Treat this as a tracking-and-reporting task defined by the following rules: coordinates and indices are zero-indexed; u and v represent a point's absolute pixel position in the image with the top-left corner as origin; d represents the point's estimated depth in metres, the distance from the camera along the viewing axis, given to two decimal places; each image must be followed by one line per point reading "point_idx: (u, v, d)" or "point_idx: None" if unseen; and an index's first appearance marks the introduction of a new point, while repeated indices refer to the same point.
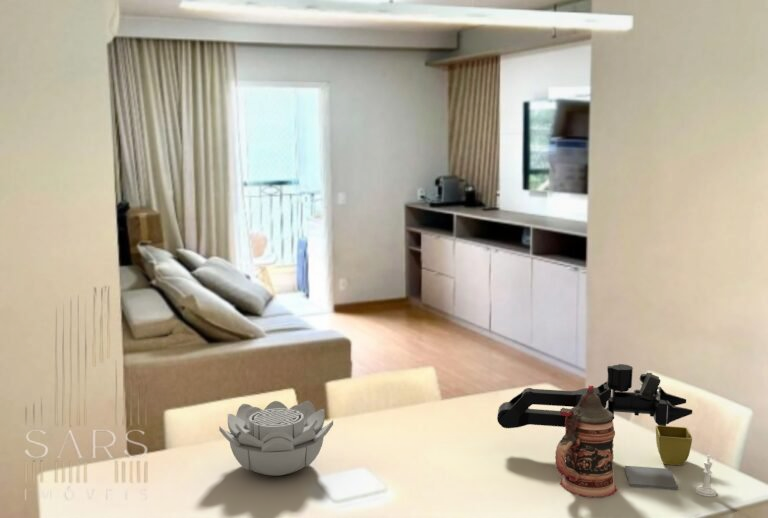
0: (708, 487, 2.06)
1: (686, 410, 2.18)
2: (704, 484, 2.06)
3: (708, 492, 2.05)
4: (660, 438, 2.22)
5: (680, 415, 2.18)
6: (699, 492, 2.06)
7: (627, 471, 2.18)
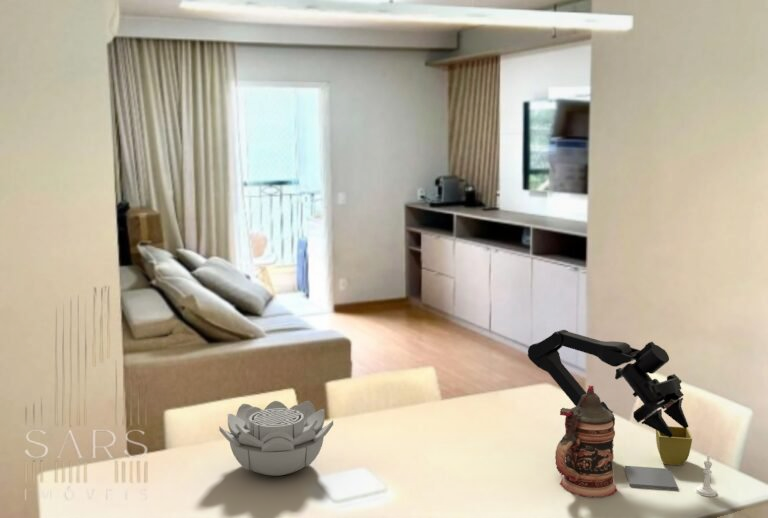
0: (708, 487, 2.06)
1: (667, 430, 2.07)
2: (704, 484, 2.06)
3: (708, 492, 2.05)
4: (660, 438, 2.22)
5: (659, 428, 2.08)
6: (699, 492, 2.06)
7: (627, 471, 2.18)
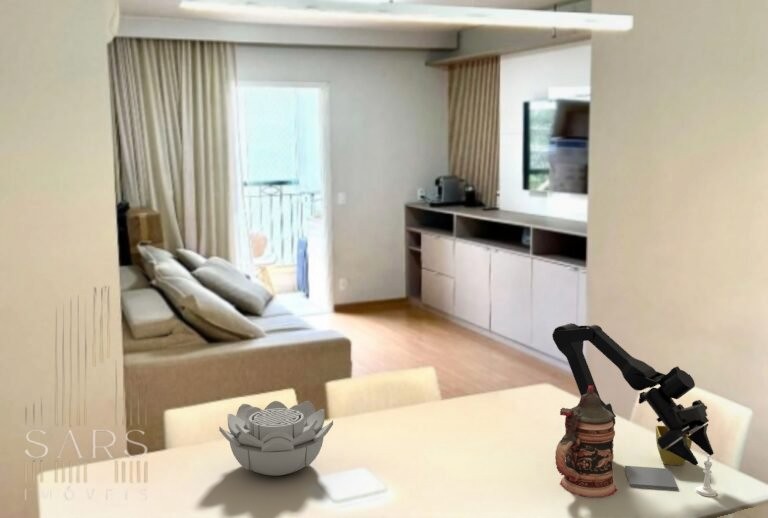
0: (708, 487, 2.06)
1: (692, 458, 2.03)
2: (704, 484, 2.06)
3: (708, 492, 2.05)
4: None
5: (684, 456, 2.04)
6: (699, 492, 2.06)
7: (627, 471, 2.18)
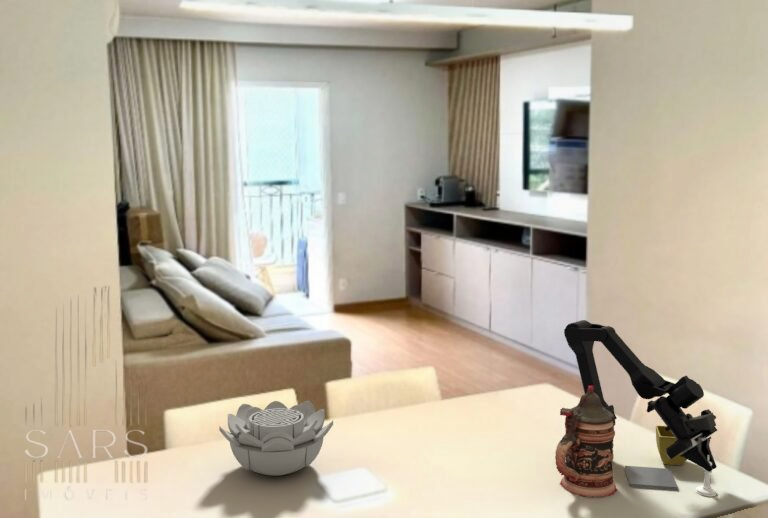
0: (708, 487, 2.05)
1: (707, 465, 2.04)
2: (704, 484, 2.06)
3: (708, 492, 2.05)
4: (660, 438, 2.22)
5: (698, 462, 2.05)
6: (699, 492, 2.06)
7: (627, 471, 2.18)
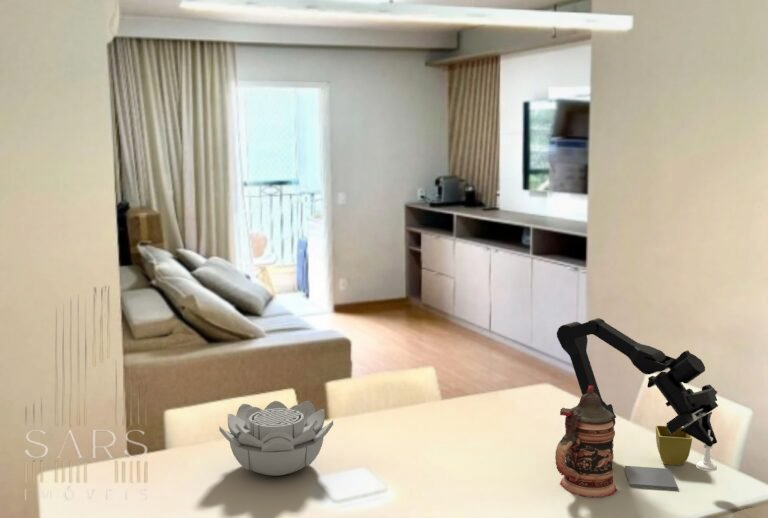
0: (708, 462, 2.05)
1: (707, 439, 2.03)
2: (704, 459, 2.05)
3: (708, 467, 2.04)
4: (660, 438, 2.22)
5: (699, 437, 2.04)
6: (699, 467, 2.05)
7: (627, 471, 2.18)
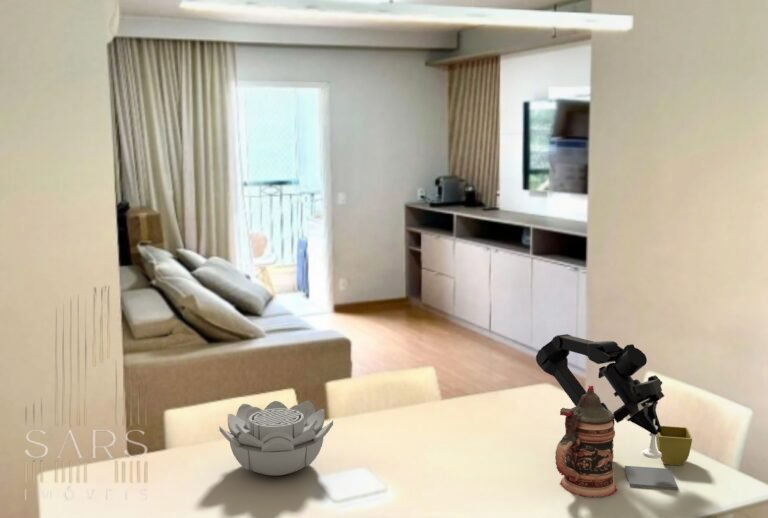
0: (654, 450, 2.13)
1: (652, 428, 2.11)
2: (650, 447, 2.13)
3: (653, 454, 2.12)
4: (660, 438, 2.22)
5: (644, 426, 2.12)
6: (645, 454, 2.13)
7: (627, 471, 2.18)
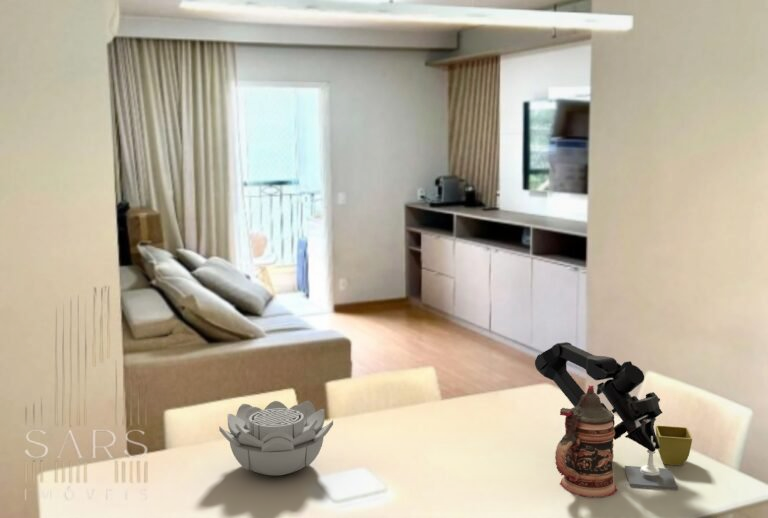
0: (651, 466, 2.14)
1: (650, 445, 2.12)
2: (648, 464, 2.14)
3: (651, 471, 2.13)
4: (660, 438, 2.22)
5: (642, 443, 2.13)
6: (643, 471, 2.14)
7: (627, 471, 2.18)
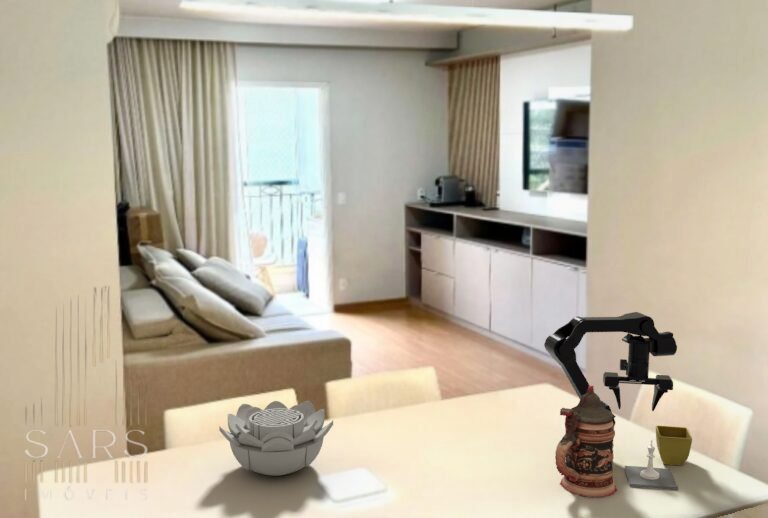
0: (651, 470, 2.14)
1: None
2: (647, 468, 2.14)
3: (651, 475, 2.13)
4: (660, 438, 2.22)
5: None
6: (643, 475, 2.14)
7: (627, 471, 2.18)
